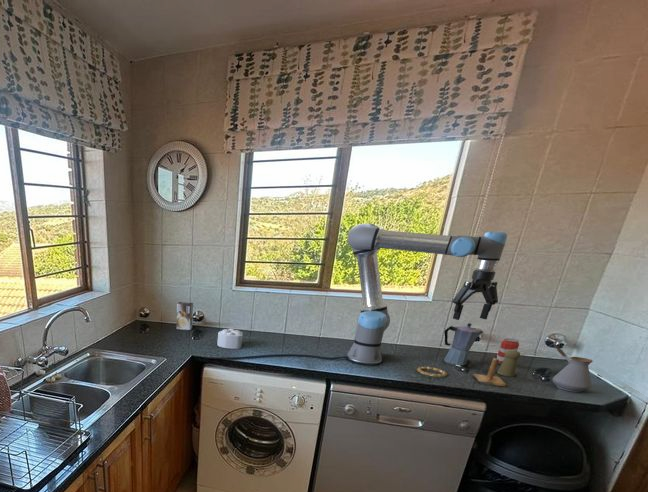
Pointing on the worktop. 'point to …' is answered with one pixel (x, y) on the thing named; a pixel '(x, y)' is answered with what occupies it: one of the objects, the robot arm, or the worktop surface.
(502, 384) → the wooden peg stand
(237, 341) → the lumpy-topped squat cylinder
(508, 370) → the cork
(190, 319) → the coffee box
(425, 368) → the ring
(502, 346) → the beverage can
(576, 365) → the coffee pot
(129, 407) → the worktop surface
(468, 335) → the moka pot
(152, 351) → the worktop surface
